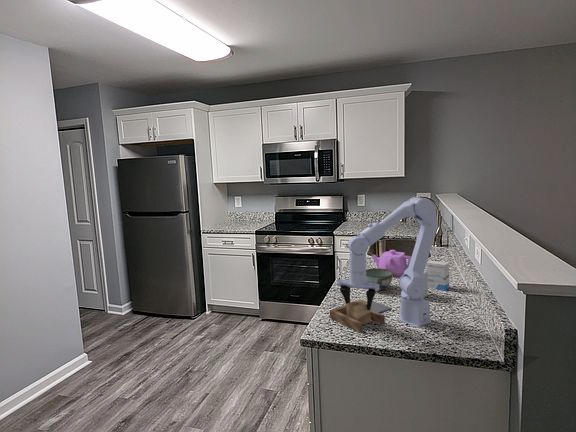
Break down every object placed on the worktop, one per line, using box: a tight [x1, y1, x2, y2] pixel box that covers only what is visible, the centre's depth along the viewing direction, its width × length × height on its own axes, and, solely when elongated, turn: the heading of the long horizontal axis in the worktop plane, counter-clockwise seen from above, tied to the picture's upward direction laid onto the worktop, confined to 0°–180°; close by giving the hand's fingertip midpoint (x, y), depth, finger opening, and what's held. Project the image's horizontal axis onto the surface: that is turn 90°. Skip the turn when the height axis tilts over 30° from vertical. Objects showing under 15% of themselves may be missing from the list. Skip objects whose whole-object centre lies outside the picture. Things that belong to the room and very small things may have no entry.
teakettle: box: [371, 249, 412, 277], centre depth 187 cm, size 17×17×12 cm
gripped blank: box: [345, 298, 372, 325], centre depth 128 cm, size 5×7×7 cm
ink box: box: [425, 260, 450, 292], centre depth 161 cm, size 9×5×12 cm, turn 47°
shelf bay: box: [329, 305, 386, 333], centre depth 130 cm, size 16×12×3 cm
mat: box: [371, 301, 392, 314], centre depth 141 cm, size 10×10×1 cm
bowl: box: [366, 267, 394, 292], centre depth 163 cm, size 14×13×8 cm
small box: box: [422, 269, 429, 299], centre depth 152 cm, size 8×6×10 cm
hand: (358, 307), depth 128 cm, fingers open, 7 cm apart
